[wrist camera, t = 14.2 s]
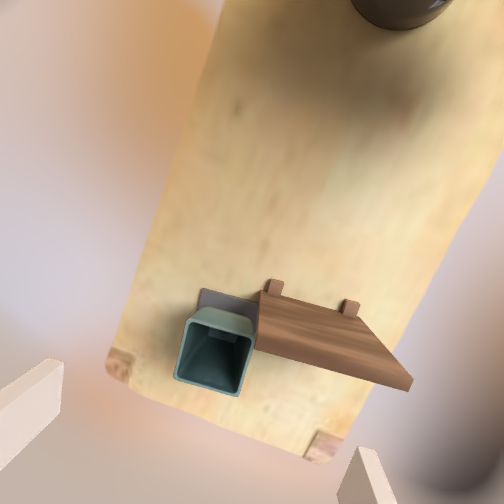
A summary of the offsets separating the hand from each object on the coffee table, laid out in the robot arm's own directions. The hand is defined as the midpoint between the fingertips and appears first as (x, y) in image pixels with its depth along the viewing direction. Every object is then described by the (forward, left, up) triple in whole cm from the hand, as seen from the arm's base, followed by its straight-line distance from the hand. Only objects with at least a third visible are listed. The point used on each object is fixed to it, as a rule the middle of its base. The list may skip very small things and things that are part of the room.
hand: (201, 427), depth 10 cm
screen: (+3, +11, -27) cm, 29 cm away
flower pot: (+9, -1, -27) cm, 28 cm away
